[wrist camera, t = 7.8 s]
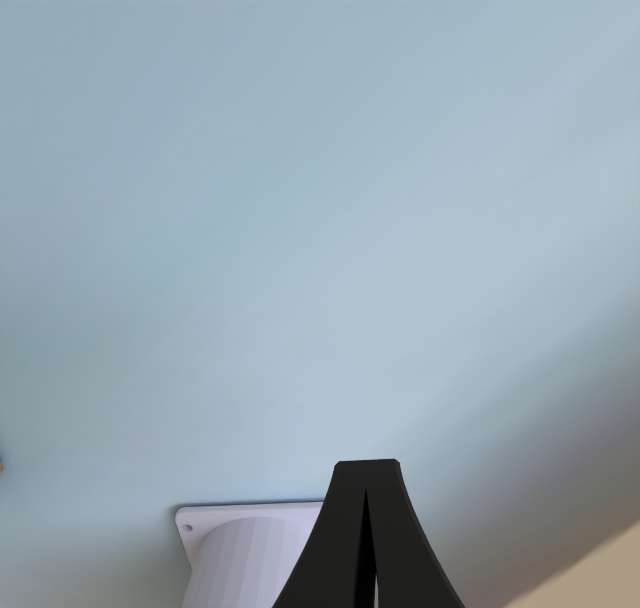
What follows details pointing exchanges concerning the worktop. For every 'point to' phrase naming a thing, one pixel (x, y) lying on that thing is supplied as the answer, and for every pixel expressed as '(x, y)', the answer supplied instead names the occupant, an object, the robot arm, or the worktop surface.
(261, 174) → the worktop surface
